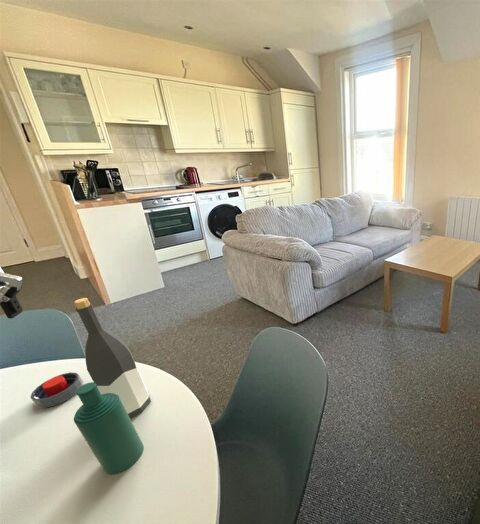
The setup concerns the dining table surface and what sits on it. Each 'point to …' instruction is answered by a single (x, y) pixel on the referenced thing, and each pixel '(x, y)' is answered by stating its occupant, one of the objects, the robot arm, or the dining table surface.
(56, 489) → the dining table surface
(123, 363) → the wine bottle
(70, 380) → the dish
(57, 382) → the cap
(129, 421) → the water bottle
